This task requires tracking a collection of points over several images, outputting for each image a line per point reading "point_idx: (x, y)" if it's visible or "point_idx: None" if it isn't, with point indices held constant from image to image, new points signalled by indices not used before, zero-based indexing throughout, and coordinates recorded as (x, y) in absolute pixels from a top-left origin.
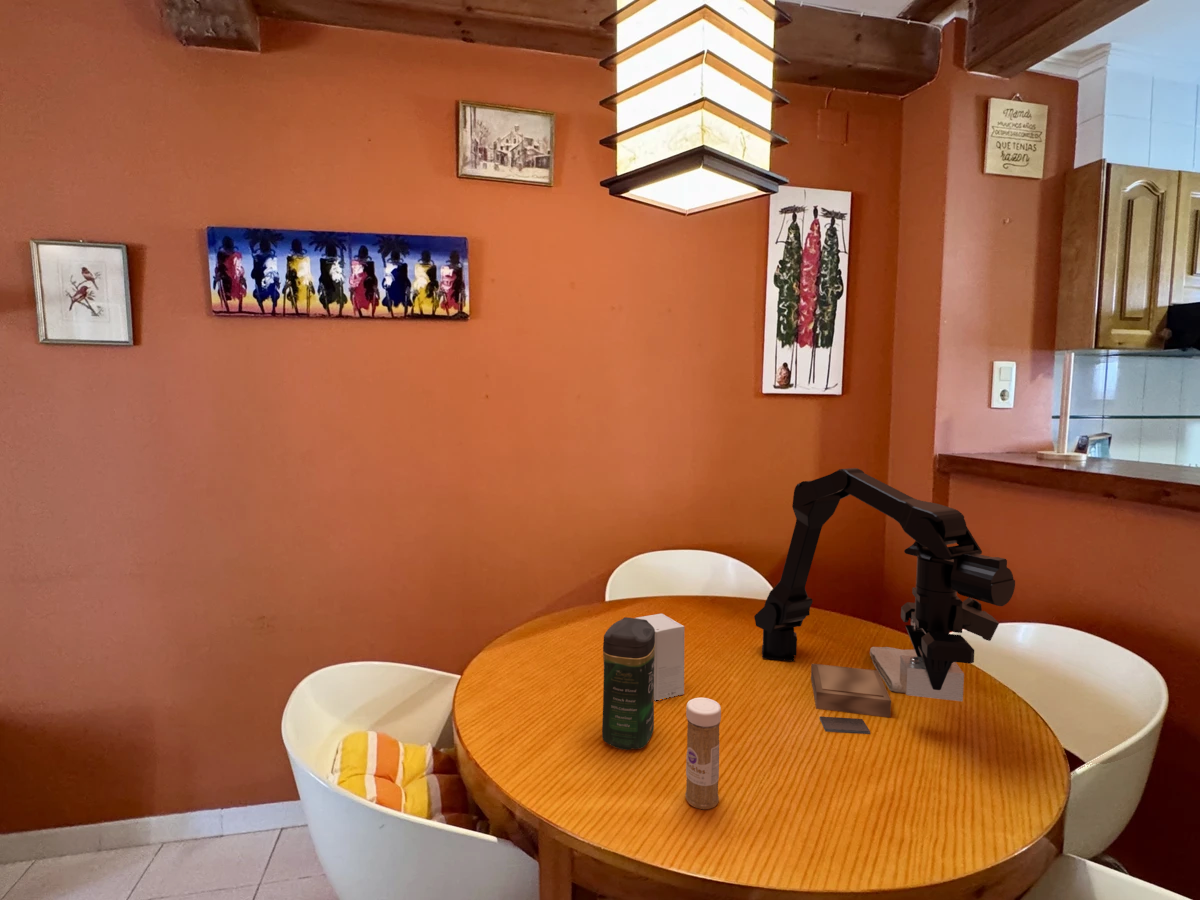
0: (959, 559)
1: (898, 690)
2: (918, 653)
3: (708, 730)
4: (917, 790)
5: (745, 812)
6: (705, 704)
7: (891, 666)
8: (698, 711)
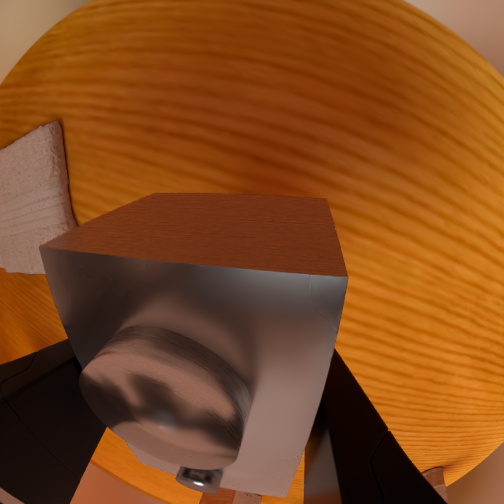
0: None
1: None
2: (97, 430)
3: None
4: (478, 325)
5: (453, 454)
6: None
7: (24, 255)
8: None
